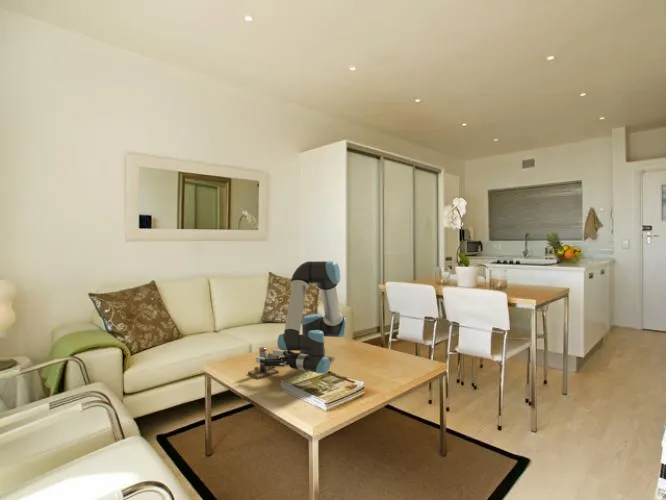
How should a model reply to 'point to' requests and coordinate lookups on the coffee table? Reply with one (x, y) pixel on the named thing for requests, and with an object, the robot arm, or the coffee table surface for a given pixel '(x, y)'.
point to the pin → (263, 355)
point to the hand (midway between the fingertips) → (264, 355)
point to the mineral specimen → (272, 357)
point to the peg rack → (258, 374)
